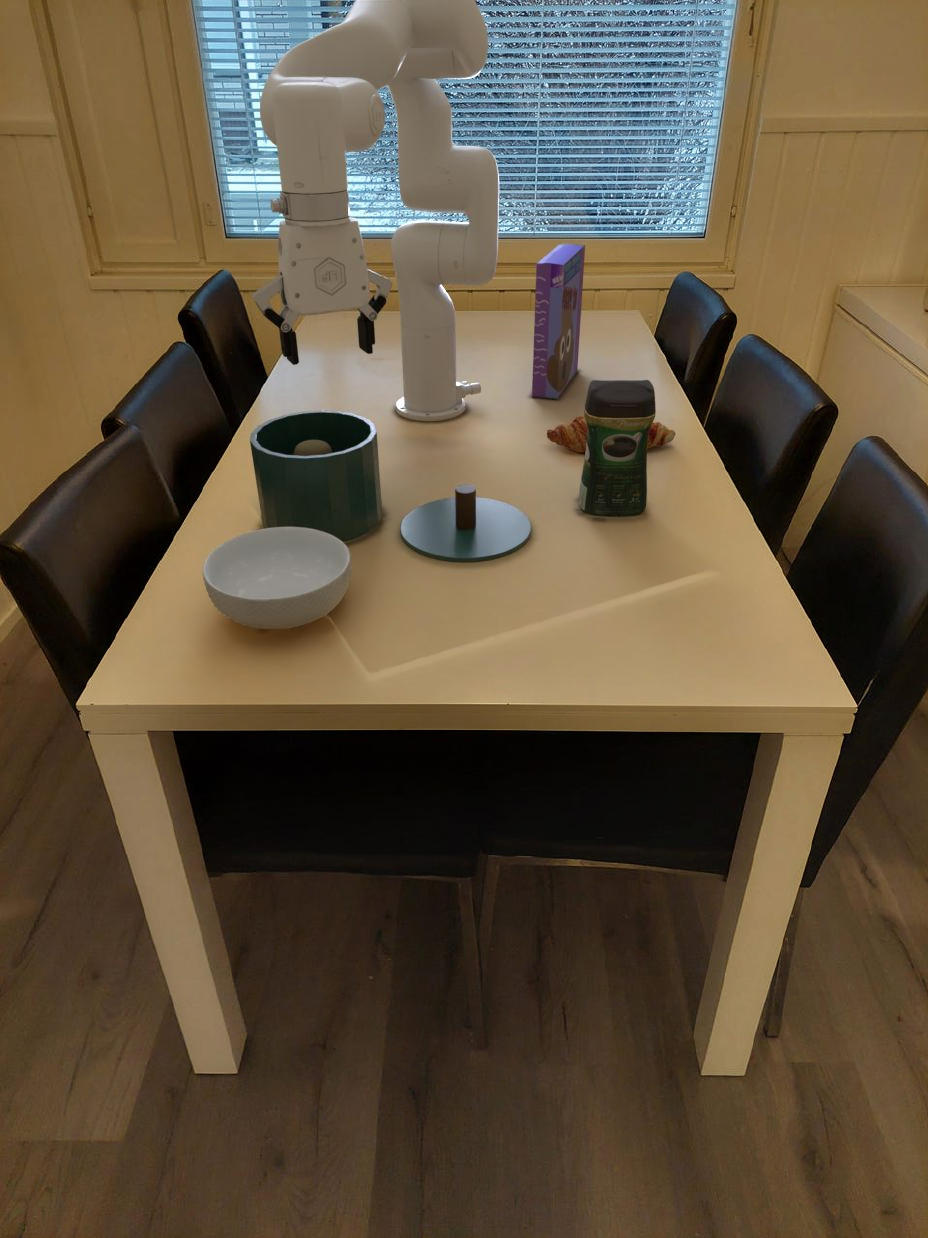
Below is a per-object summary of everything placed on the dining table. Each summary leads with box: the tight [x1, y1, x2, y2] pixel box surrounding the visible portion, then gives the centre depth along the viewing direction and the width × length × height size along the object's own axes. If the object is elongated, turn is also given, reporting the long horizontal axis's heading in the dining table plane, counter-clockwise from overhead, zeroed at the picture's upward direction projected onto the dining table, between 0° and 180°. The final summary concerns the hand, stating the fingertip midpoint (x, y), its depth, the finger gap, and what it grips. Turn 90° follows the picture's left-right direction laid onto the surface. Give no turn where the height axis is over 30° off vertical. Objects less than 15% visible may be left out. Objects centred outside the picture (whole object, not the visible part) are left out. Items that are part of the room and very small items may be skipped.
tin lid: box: [400, 484, 532, 563], centre depth 119 cm, size 18×18×7 cm
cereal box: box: [531, 242, 586, 401], centre depth 165 cm, size 17×5×24 cm, turn 161°
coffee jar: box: [578, 379, 657, 518], centre depth 122 cm, size 10×8×19 cm
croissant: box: [546, 415, 677, 453], centre depth 144 cm, size 21×10×8 cm, turn 94°
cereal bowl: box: [202, 527, 352, 630], centre depth 103 cm, size 17×17×7 cm
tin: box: [249, 409, 383, 543], centre depth 121 cm, size 17×17×13 cm
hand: (330, 356), depth 110 cm, fingers open, 9 cm apart
